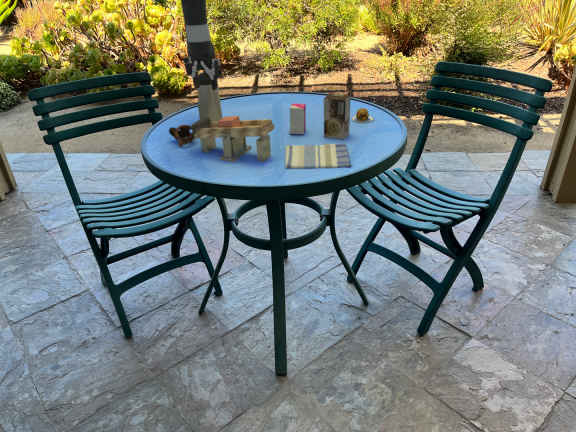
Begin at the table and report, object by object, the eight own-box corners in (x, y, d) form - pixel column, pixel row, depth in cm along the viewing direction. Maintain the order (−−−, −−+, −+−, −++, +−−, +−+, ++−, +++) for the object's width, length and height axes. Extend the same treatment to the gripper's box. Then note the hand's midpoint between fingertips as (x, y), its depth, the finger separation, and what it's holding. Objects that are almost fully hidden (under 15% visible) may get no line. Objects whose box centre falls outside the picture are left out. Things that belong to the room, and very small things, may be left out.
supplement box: (304, 135, 171) (303, 108, 164) (289, 135, 172) (288, 107, 165) (306, 130, 175) (305, 103, 169) (292, 129, 176) (291, 103, 170)
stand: (197, 155, 158) (192, 130, 153) (215, 142, 168) (212, 118, 162) (259, 166, 148) (256, 140, 143) (274, 151, 158) (273, 126, 153)
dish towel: (285, 149, 161) (285, 143, 159) (347, 148, 159) (347, 141, 158) (283, 170, 146) (283, 163, 145) (351, 169, 145) (351, 162, 143)
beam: (195, 138, 157) (191, 124, 155) (207, 130, 163) (203, 117, 161) (264, 136, 144) (261, 121, 141) (274, 128, 150) (271, 114, 147)
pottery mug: (201, 138, 174) (199, 125, 166) (193, 156, 169) (191, 143, 162) (174, 130, 174) (171, 117, 167) (164, 147, 170) (161, 135, 162)
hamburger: (382, 121, 182) (383, 109, 179) (361, 128, 177) (362, 115, 174) (363, 114, 191) (364, 102, 188) (343, 120, 185) (343, 108, 182)
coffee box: (349, 134, 170) (351, 94, 161) (344, 140, 165) (346, 99, 156) (328, 131, 173) (329, 92, 165) (323, 137, 168) (323, 97, 160)
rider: (220, 131, 153) (217, 121, 151) (227, 127, 156) (225, 116, 155) (234, 131, 150) (231, 120, 148) (241, 126, 154) (238, 116, 152)
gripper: (174, 40, 139) (183, 90, 148) (211, 42, 134) (217, 93, 143) (187, 35, 145) (195, 84, 154) (223, 37, 140) (229, 87, 149)
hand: (206, 88), depth 149 cm, fingers open, 6 cm apart
